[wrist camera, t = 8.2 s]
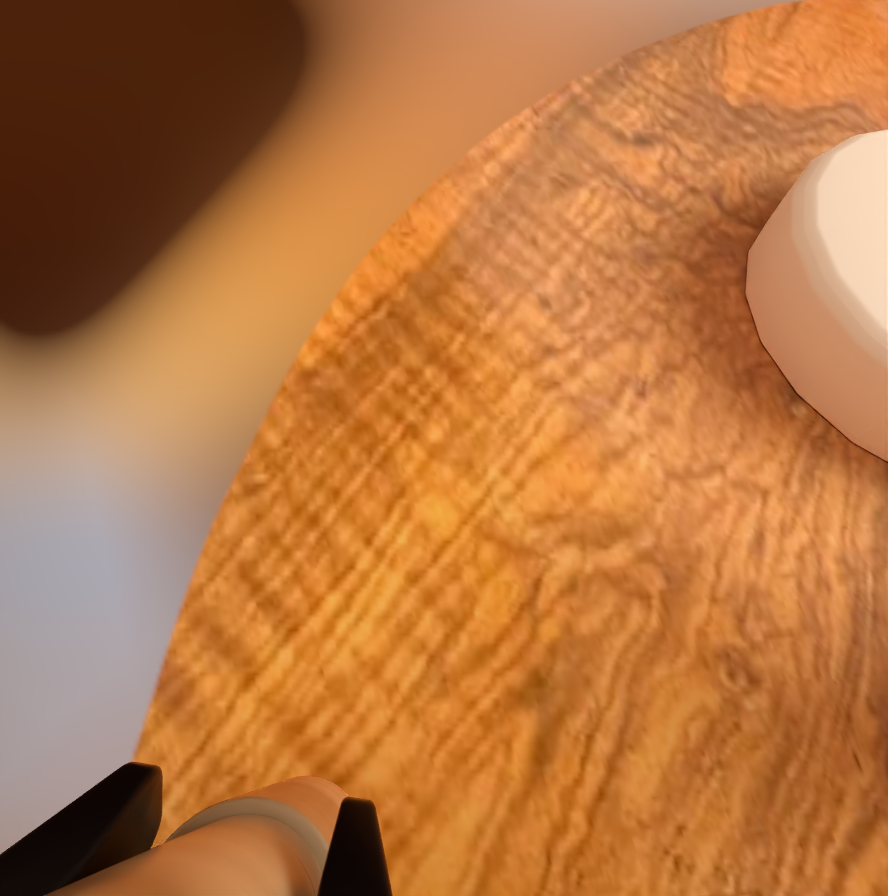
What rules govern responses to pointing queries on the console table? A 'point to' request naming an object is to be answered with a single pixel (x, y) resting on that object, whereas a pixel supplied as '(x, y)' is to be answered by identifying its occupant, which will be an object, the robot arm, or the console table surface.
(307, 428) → the console table surface
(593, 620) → the console table surface
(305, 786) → the tan pestle
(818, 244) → the container
